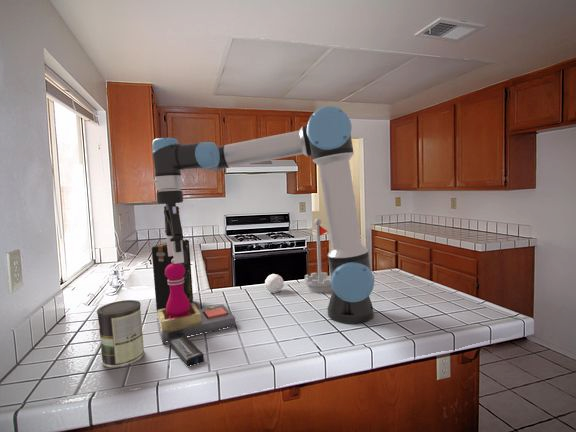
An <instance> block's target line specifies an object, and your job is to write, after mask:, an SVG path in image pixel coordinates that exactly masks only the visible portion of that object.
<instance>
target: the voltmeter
mask: <svg viewBox="0 0 576 432" xmlns="http://www.w3.org/2000/svg"><path fill="white" fill-rule="evenodd" d="M182 244H183V256H184V262H183V263H180V264H182V265H183V266H184V268H185V274H184V276H183V277H184V283H183V289H184V293H185V295H186V296H187V298H188V300H189V302H190V303H192V302H193V301H194V294H193V293H194V292H193V282H192V281H193V277H192V276H193V275H192V265H191V251H190V240H189V239H184V238H183V239H182ZM151 257H152V258H151V259H152V270H153V282H154V284H153V285H154V294H155V296H154V297H155V307H156V312H157V313H158V310H160V309H165V308H166V305H167V302H168V299H169V296H170V286H169V285H168V281H167V280H168V278H167V277H166V275H165V269H166V267H167V266H168V265H169V264H172V263H171V260H172V259H173V258H174V257H173V256H168V248H167V242H164V243H160V244H157V245H154V246H152V247H151Z"/></svg>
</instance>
